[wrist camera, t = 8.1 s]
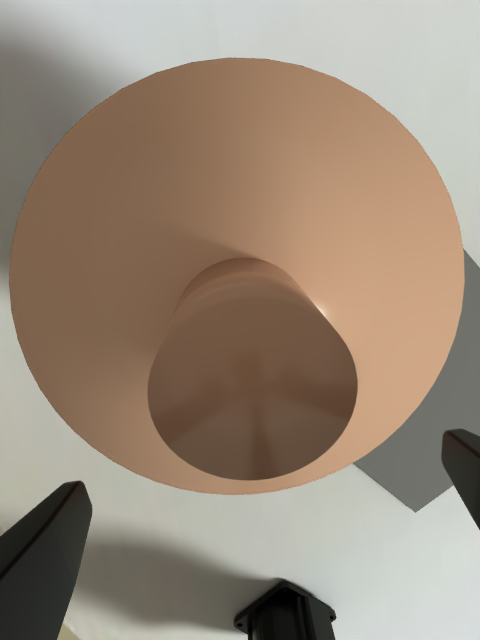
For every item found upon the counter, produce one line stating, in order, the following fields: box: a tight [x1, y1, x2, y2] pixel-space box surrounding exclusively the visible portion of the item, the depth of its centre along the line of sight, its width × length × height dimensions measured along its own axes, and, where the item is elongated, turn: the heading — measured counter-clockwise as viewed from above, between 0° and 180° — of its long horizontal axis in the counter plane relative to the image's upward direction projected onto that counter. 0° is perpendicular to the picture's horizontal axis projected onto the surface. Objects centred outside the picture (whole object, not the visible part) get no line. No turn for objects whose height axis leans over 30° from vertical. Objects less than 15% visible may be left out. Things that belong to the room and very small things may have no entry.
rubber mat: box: [353, 249, 480, 513], centre depth 23 cm, size 14×14×1 cm
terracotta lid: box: [9, 58, 465, 495], centre depth 8 cm, size 12×12×4 cm
